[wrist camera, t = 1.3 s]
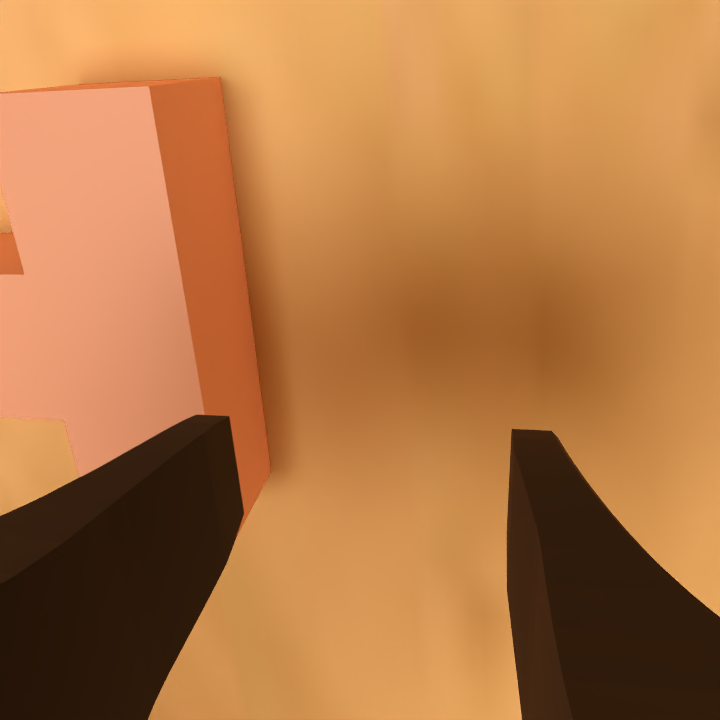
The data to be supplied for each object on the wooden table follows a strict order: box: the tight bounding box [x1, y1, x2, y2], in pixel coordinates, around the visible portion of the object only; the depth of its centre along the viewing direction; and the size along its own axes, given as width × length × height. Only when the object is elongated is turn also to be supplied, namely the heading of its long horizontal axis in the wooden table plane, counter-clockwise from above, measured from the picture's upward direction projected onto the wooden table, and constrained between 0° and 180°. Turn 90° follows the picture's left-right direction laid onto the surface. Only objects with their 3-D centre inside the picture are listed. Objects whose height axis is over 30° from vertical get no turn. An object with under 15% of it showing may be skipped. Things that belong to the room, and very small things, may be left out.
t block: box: [0, 77, 271, 537], centre depth 19 cm, size 12×12×4 cm
